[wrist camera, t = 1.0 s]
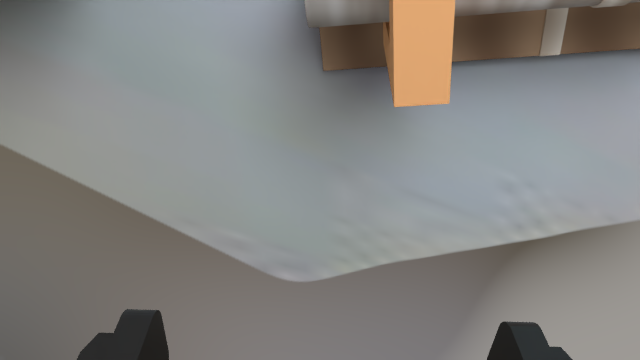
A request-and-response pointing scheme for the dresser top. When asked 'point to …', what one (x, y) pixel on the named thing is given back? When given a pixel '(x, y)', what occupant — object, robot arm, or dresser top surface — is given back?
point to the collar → (419, 50)
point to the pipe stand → (481, 29)
